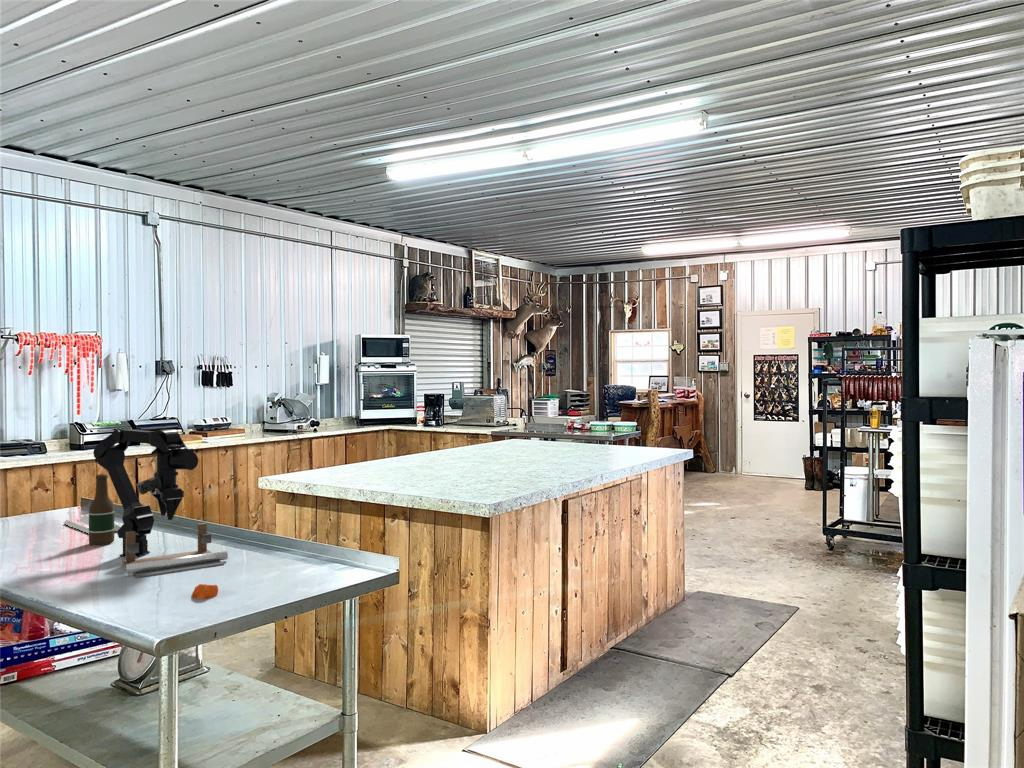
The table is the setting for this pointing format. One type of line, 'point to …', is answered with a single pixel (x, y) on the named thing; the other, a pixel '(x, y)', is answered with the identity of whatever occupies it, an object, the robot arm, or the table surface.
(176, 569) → the rubber mat
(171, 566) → the steel rail
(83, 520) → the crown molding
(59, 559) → the table surface
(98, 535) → the beer bottle
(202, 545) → the hook stand
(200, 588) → the rock
